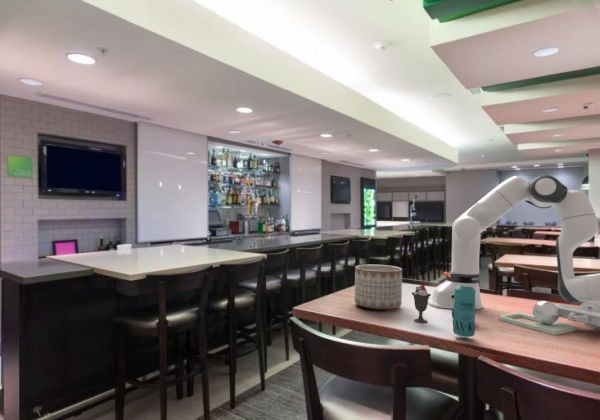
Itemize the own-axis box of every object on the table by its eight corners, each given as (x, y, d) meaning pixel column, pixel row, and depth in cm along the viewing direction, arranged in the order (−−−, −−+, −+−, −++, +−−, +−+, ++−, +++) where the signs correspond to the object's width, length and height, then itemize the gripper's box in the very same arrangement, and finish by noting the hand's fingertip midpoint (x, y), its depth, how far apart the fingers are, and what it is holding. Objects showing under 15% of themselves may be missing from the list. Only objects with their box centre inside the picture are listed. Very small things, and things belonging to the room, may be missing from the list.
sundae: (428, 325, 131) (428, 282, 131) (409, 321, 135) (409, 280, 135) (432, 320, 137) (433, 280, 137) (413, 317, 140) (414, 278, 140)
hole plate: (576, 330, 129) (576, 326, 129) (554, 335, 123) (554, 331, 123) (519, 315, 146) (519, 312, 146) (498, 319, 140) (498, 316, 140)
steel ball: (539, 326, 128) (539, 303, 128) (528, 319, 136) (528, 298, 136) (564, 327, 127) (564, 304, 127) (551, 321, 135) (551, 299, 135)
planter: (355, 300, 168) (356, 263, 168) (399, 302, 164) (400, 265, 164) (353, 310, 149) (353, 269, 149) (402, 314, 145) (403, 272, 145)
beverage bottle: (448, 335, 121) (449, 273, 121) (468, 335, 121) (469, 273, 121) (459, 342, 114) (460, 277, 114) (479, 341, 115) (480, 277, 115)
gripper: (562, 298, 139) (540, 302, 132) (630, 311, 121) (609, 316, 114) (561, 315, 139) (540, 320, 132) (630, 331, 120) (609, 337, 114)
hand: (573, 318), depth 123 cm, fingers closed
